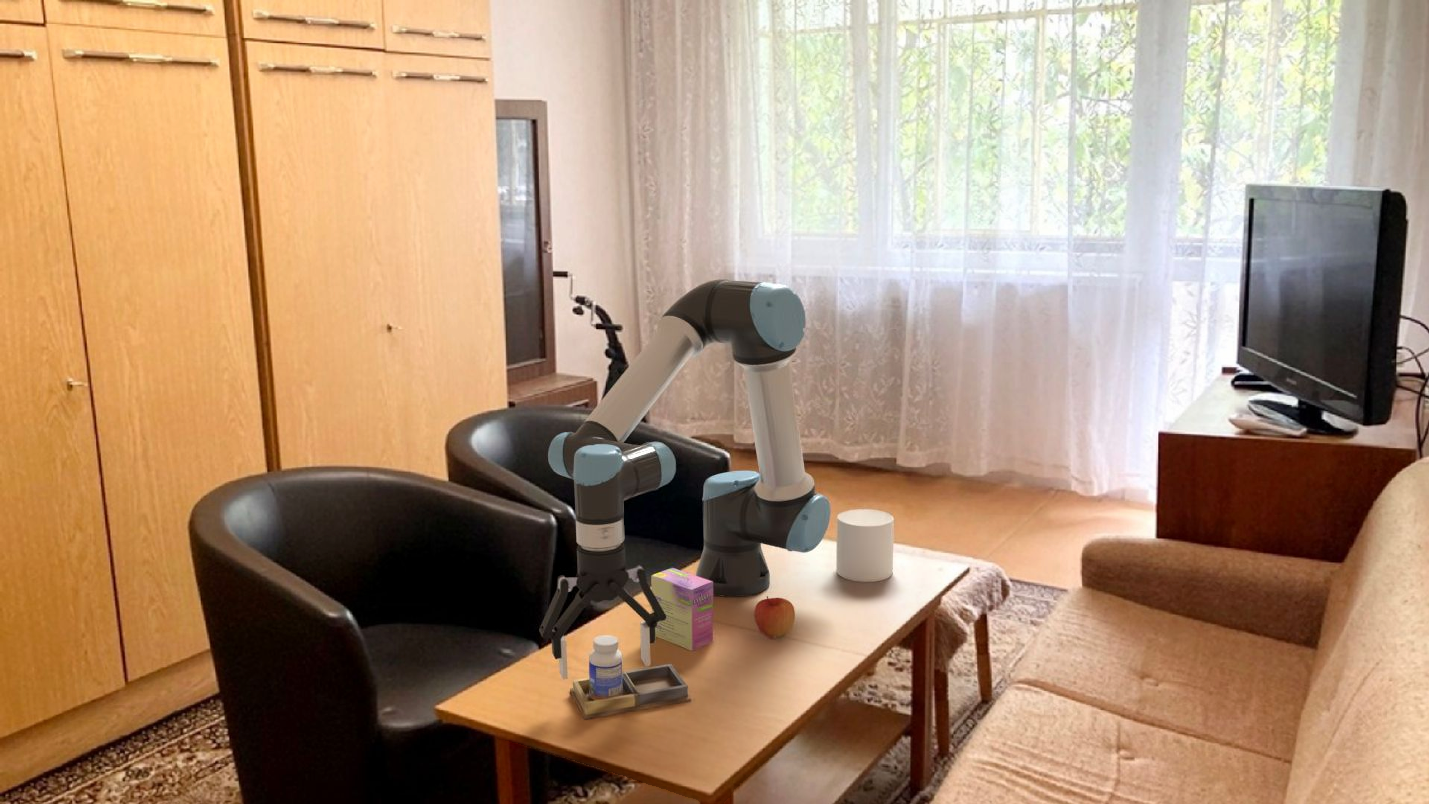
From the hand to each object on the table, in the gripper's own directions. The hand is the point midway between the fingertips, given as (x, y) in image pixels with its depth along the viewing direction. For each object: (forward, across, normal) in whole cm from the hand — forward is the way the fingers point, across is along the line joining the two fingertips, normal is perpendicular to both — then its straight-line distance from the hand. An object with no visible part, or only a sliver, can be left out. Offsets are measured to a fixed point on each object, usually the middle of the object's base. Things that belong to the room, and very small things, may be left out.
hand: (605, 669), depth 184 cm
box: (+6, +19, +18) cm, 27 cm away
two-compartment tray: (+5, +4, 0) cm, 7 cm away
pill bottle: (+5, 0, 0) cm, 5 cm away
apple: (+6, +35, +13) cm, 38 cm away
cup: (+6, +65, +36) cm, 75 cm away
